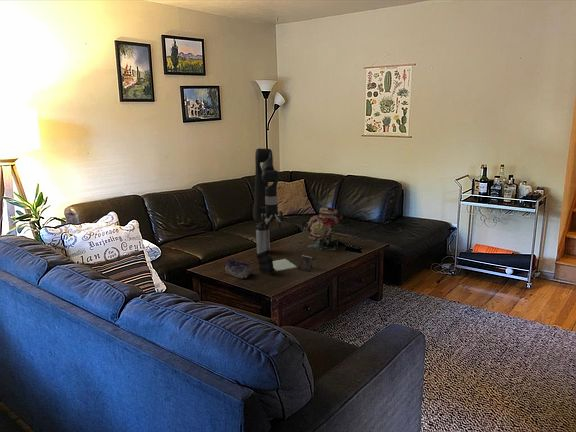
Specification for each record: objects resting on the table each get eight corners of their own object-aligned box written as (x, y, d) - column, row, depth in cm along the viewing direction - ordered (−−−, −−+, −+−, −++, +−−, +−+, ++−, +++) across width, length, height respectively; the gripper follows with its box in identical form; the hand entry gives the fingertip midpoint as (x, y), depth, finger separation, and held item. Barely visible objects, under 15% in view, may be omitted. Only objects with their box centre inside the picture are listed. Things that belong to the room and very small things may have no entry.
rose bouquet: (311, 240, 358) (311, 202, 351) (348, 243, 346) (348, 204, 339) (298, 249, 335) (297, 209, 328) (337, 253, 323) (336, 211, 316)
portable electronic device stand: (296, 269, 295) (296, 256, 293) (304, 265, 301) (304, 253, 299) (307, 272, 289) (307, 259, 287) (315, 268, 295) (315, 256, 293)
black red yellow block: (273, 274, 282) (265, 250, 284) (261, 278, 292) (254, 255, 294) (277, 272, 285) (270, 249, 286) (266, 276, 295) (258, 254, 296)
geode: (218, 274, 290) (218, 258, 289) (231, 271, 299) (231, 256, 298) (242, 279, 278) (242, 263, 277) (255, 276, 287) (255, 260, 286)
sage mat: (266, 263, 308) (266, 262, 308) (285, 259, 314) (285, 258, 314) (277, 271, 292) (277, 270, 292) (297, 267, 298) (297, 266, 298)
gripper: (278, 200, 289) (279, 226, 293) (258, 203, 282) (259, 229, 286) (284, 202, 283) (285, 228, 286) (263, 205, 276) (265, 232, 279)
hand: (272, 229), depth 286 cm, fingers open, 8 cm apart
